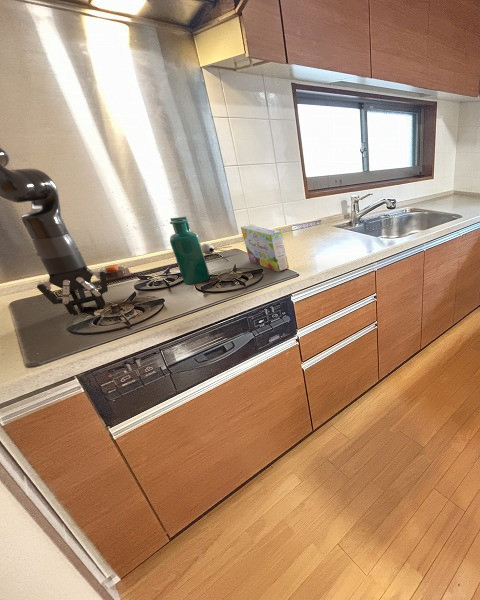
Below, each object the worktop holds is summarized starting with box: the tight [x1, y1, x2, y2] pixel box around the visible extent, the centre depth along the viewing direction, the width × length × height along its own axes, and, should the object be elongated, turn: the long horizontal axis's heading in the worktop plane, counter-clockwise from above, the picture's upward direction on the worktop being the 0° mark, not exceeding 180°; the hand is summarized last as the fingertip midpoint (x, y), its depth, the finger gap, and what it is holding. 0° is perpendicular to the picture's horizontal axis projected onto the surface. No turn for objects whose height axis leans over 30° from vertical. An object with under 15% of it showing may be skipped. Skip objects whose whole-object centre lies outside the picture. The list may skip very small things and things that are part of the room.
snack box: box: [240, 224, 290, 273], centre depth 129 cm, size 21×6×15 cm, turn 53°
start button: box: [104, 264, 119, 272], centre depth 119 cm, size 4×4×2 cm
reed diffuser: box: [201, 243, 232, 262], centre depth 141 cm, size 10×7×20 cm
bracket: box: [69, 279, 101, 314], centre depth 95 cm, size 10×9×13 cm
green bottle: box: [169, 216, 211, 285], centre depth 115 cm, size 10×8×22 cm
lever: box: [70, 288, 96, 307], centre depth 91 cm, size 12×5×2 cm, turn 44°
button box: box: [99, 266, 133, 284], centre depth 120 cm, size 11×9×4 cm
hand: (89, 310), depth 90 cm, fingers closed on lever, 5 cm apart
